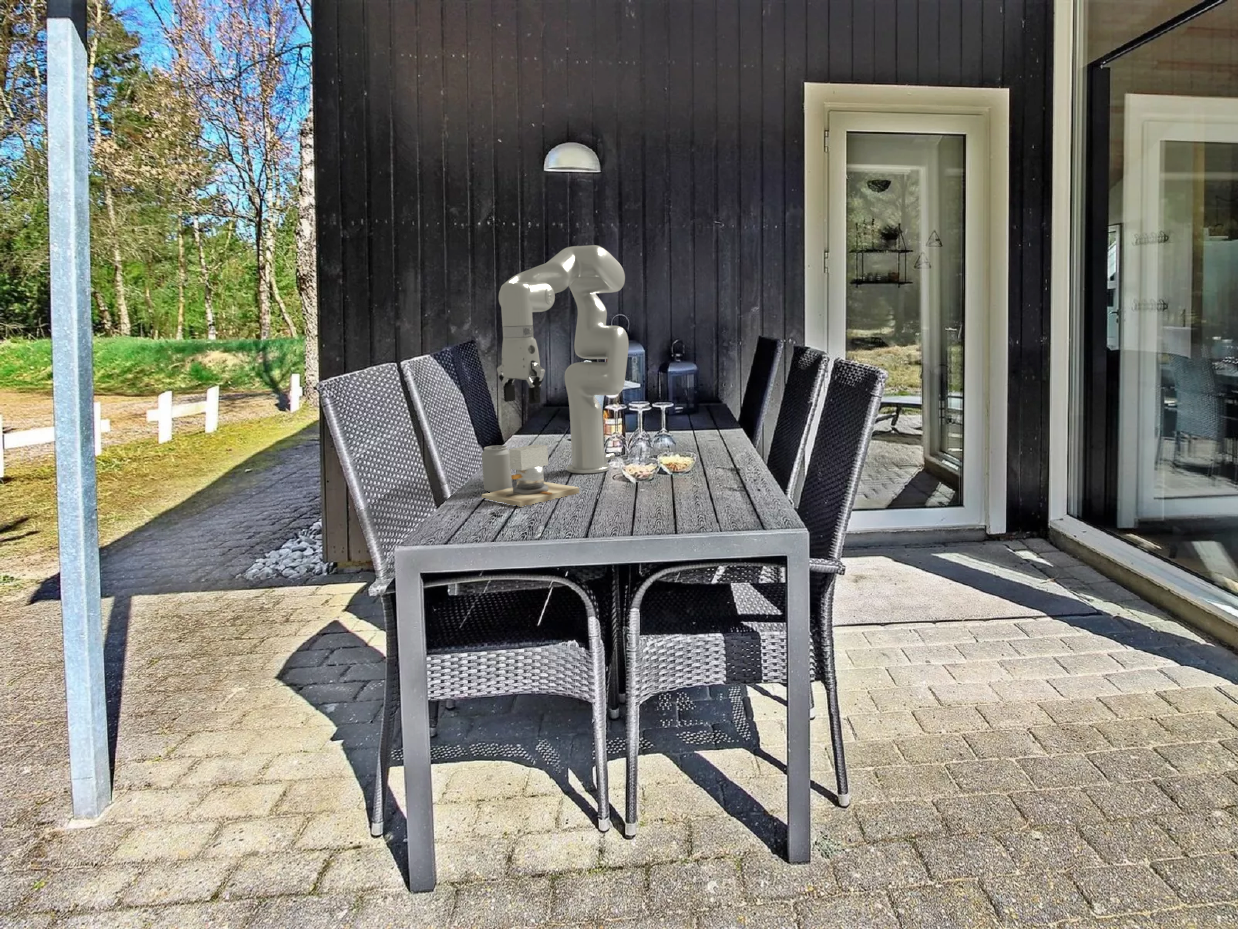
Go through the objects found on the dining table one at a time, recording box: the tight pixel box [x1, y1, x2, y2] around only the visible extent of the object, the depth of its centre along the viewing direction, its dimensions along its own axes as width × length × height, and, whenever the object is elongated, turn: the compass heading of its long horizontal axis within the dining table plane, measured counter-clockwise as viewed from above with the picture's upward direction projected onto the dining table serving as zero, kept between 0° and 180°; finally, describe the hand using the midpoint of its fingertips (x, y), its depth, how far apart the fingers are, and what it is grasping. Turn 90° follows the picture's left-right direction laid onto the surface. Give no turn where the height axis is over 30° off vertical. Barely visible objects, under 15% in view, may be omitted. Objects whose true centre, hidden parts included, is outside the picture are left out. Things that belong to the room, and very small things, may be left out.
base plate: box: [481, 481, 580, 508], centre depth 224 cm, size 20×15×2 cm
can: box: [481, 445, 513, 493], centre depth 231 cm, size 8×8×12 cm
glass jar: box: [508, 443, 549, 489], centre depth 222 cm, size 10×7×10 cm
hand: (522, 402), depth 219 cm, fingers open, 9 cm apart
